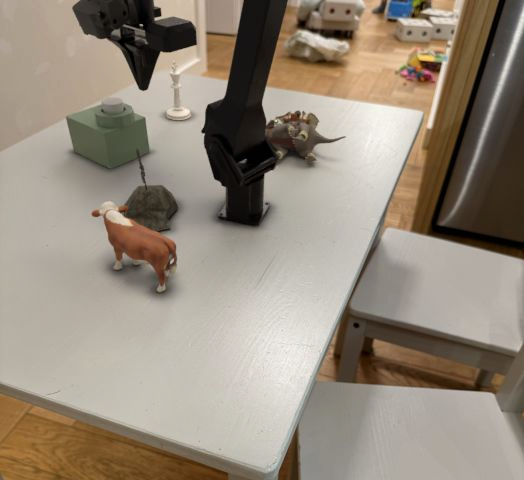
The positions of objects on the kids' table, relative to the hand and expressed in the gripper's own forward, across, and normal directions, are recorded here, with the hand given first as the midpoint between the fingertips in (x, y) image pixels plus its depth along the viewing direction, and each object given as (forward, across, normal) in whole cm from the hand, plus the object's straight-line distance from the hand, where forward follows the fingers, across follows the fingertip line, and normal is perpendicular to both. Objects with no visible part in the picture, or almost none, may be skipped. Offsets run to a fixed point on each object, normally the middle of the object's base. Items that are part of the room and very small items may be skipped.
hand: (143, 89), depth 76 cm
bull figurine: (+13, +19, -20) cm, 31 cm away
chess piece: (+13, -14, +20) cm, 28 cm away
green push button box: (+13, -11, 0) cm, 17 cm away
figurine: (+13, +11, +24) cm, 30 cm away
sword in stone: (+13, +10, -10) cm, 20 cm away
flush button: (+5, -8, 0) cm, 10 cm away
